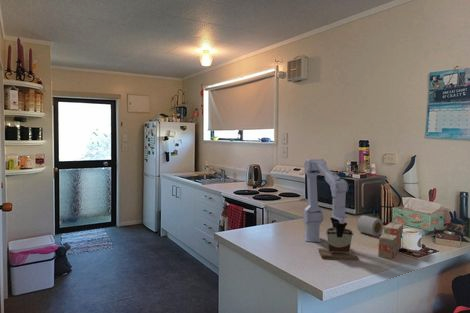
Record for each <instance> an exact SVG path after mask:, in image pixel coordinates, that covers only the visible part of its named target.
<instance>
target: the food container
mask: <svg viewBox="0 0 470 313" xmlns="http://www.w3.org/2000/svg"><path fill="white" fill-rule="evenodd" d="M325 236H326V238H327V247H328V248H327V249H329V252H350V250H351V244H352V236H354V232H353V231H352V230H351V229H349V228H346V227H345V229H344V232H343V236H342V237H337V233H336V227H334V228H333V227H329V228H327V230H326V233H325Z"/></svg>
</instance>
